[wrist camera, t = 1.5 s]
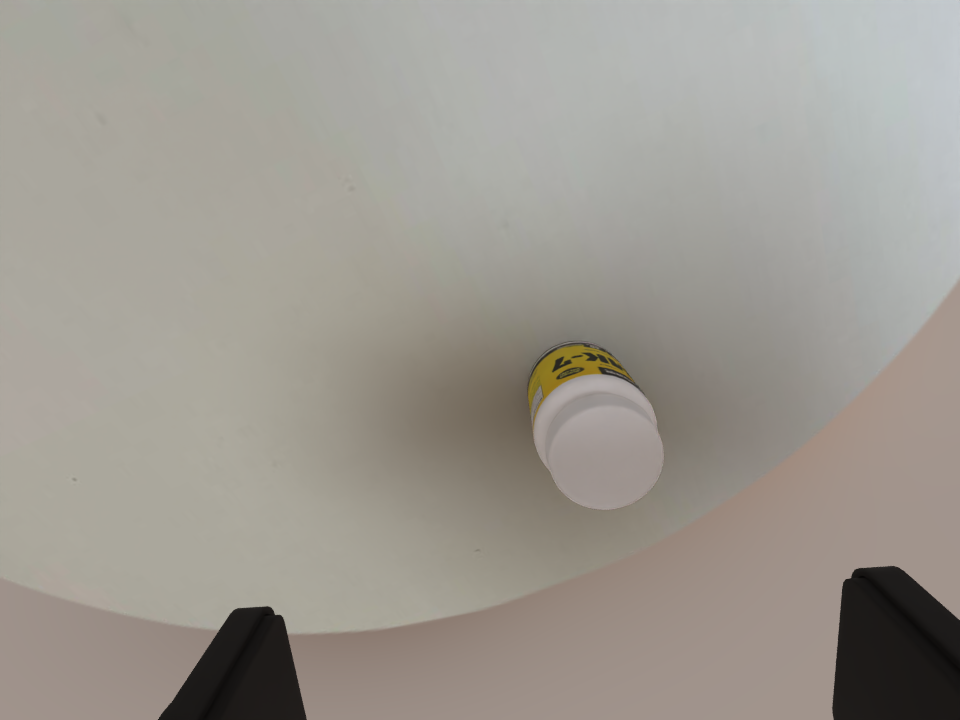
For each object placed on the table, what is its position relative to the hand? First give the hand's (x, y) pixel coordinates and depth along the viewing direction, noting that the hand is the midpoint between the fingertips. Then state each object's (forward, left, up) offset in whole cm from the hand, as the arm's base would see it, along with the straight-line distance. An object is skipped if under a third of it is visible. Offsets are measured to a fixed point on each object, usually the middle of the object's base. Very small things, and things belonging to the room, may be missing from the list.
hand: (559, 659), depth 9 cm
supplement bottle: (-2, +2, -18) cm, 19 cm away
